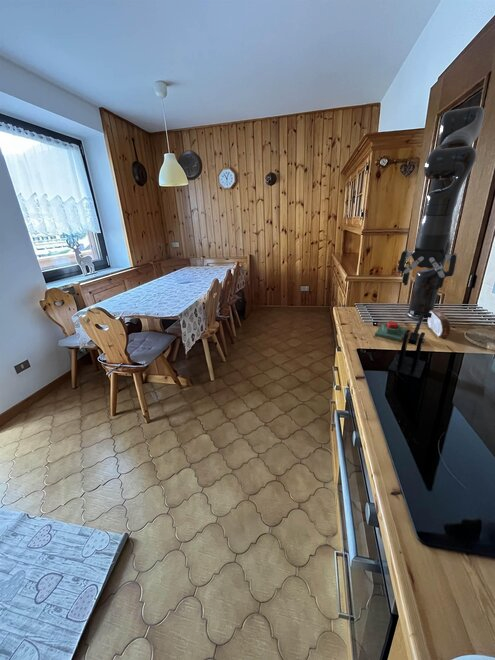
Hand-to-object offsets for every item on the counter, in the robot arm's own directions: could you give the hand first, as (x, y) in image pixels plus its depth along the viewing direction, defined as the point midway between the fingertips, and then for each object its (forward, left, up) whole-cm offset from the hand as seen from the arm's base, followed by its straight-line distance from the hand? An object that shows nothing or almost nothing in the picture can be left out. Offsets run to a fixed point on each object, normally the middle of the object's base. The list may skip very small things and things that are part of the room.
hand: (421, 286), depth 87 cm
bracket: (+6, +2, -26) cm, 27 cm away
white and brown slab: (-26, +6, -26) cm, 37 cm away
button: (-15, -8, -22) cm, 28 cm away
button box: (-15, -8, -26) cm, 31 cm away
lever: (+1, +2, -14) cm, 14 cm away
